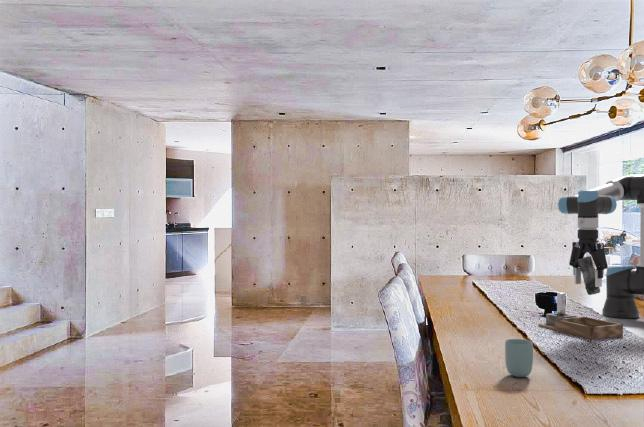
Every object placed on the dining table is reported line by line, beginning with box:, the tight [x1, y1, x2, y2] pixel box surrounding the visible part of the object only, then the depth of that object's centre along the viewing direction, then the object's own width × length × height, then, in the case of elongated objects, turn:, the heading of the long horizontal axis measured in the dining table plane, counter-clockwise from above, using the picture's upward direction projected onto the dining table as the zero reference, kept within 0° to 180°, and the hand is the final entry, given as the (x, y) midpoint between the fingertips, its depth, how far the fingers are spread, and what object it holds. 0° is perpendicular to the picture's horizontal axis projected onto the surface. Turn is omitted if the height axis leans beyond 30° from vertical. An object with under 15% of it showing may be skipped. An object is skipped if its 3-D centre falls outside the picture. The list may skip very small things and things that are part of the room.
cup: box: [504, 338, 534, 378], centre depth 176 cm, size 8×8×10 cm
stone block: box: [577, 255, 601, 296], centre depth 236 cm, size 9×14×5 cm
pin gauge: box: [556, 292, 566, 316], centre depth 249 cm, size 3×3×13 cm
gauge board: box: [537, 312, 624, 340], centre depth 240 cm, size 16×28×5 cm, turn 23°
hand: (587, 285), depth 236 cm, fingers closed on stone block, 10 cm apart
